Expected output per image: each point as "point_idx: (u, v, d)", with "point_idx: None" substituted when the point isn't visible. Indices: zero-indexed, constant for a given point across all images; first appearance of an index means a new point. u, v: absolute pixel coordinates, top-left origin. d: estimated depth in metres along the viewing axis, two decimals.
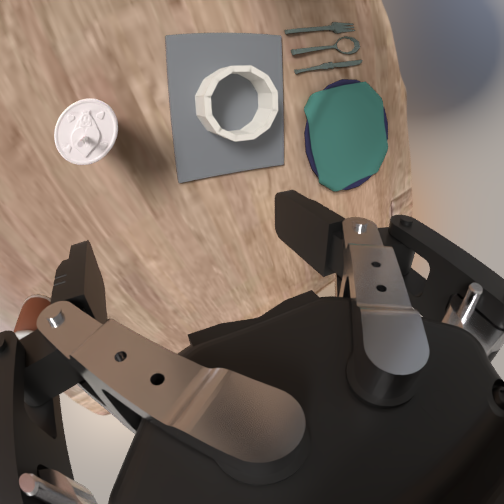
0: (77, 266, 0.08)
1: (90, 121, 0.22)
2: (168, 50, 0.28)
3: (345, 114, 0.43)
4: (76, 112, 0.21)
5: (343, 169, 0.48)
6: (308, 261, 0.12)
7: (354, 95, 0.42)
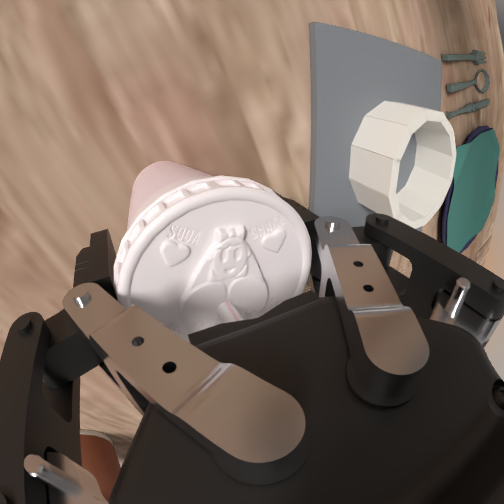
0: (99, 252, 0.09)
1: (244, 262, 0.08)
2: (318, 51, 0.15)
3: (474, 168, 0.30)
4: (195, 230, 0.07)
5: (461, 232, 0.35)
6: None
7: (483, 144, 0.29)
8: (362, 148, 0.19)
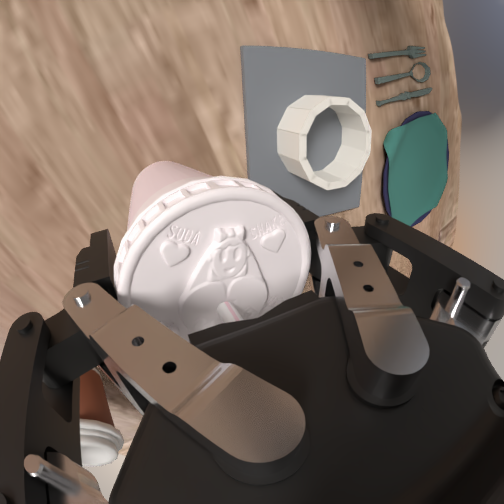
0: (99, 252, 0.09)
1: (244, 262, 0.08)
2: (246, 65, 0.23)
3: (417, 149, 0.38)
4: (195, 231, 0.07)
5: (410, 206, 0.43)
6: None
7: (425, 127, 0.37)
8: (283, 130, 0.27)
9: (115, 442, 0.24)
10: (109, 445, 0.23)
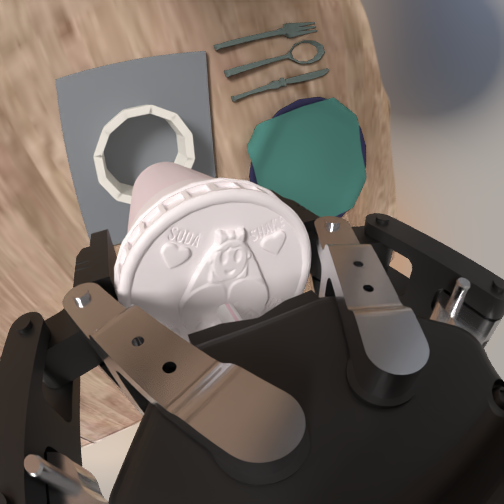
0: (99, 252, 0.09)
1: (244, 264, 0.08)
2: (59, 97, 0.21)
3: (306, 143, 0.37)
4: (195, 233, 0.07)
5: None
6: None
7: (318, 117, 0.35)
8: None
9: None
10: None
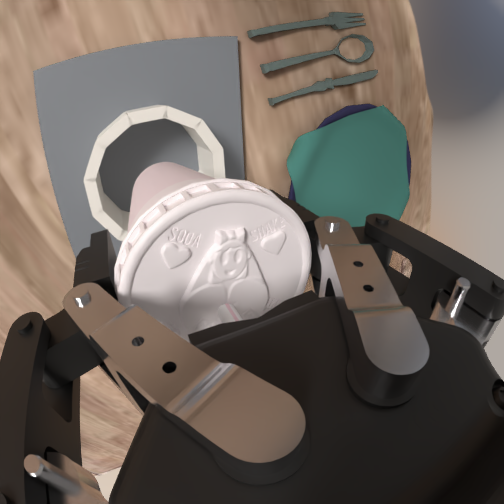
0: (99, 252, 0.09)
1: (244, 264, 0.08)
2: (38, 95, 0.15)
3: (352, 159, 0.30)
4: (195, 233, 0.07)
5: None
6: None
7: (366, 128, 0.29)
8: None
9: None
10: None
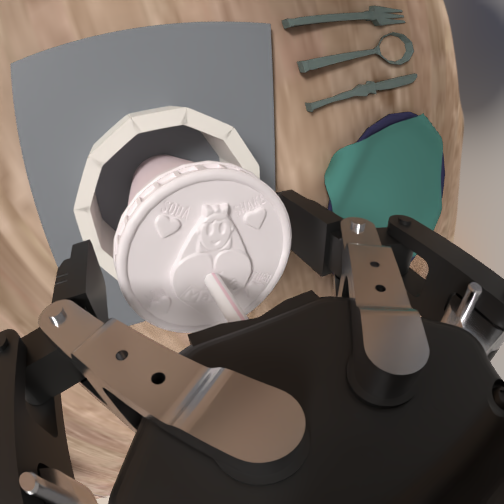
0: (79, 265, 0.08)
1: (228, 236, 0.09)
2: (16, 94, 0.10)
3: (391, 174, 0.26)
4: (185, 206, 0.08)
5: None
6: (306, 261, 0.12)
7: (406, 139, 0.24)
8: None
9: None
10: None
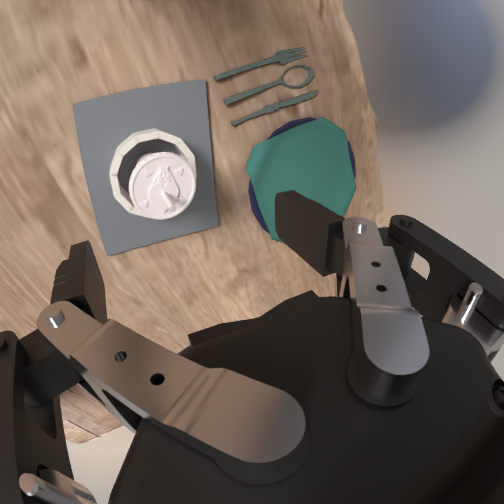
0: (77, 266, 0.08)
1: (169, 177, 0.25)
2: (77, 120, 0.27)
3: (299, 160, 0.42)
4: (154, 166, 0.25)
5: None
6: (308, 261, 0.12)
7: (309, 135, 0.40)
8: None
9: None
10: None
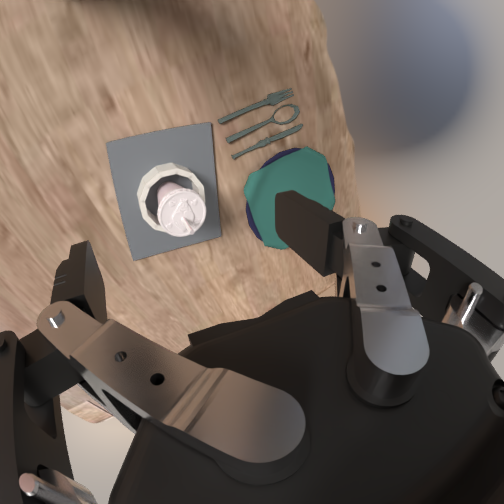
0: (77, 266, 0.08)
1: (187, 207, 0.36)
2: (109, 156, 0.37)
3: (286, 182, 0.53)
4: (176, 199, 0.36)
5: None
6: (308, 261, 0.12)
7: (295, 162, 0.52)
8: (137, 195, 0.41)
9: None
10: None
